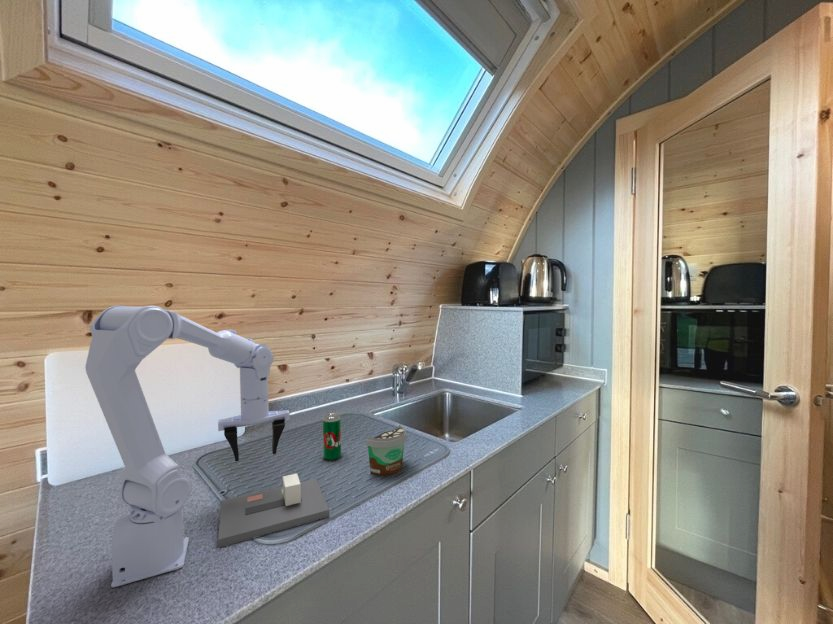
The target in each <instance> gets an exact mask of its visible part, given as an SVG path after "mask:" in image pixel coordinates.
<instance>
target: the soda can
mask: <svg viewBox="0 0 833 624" xmlns="http://www.w3.org/2000/svg"><path fill="white" fill-rule="evenodd" d="M341 456H342V418H341V416H340V413H337V412H330V413H326V414H324V415H323V418H322V457H323V459H324V460H326V461H335V460H339V459H340V457H341Z"/></svg>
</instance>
